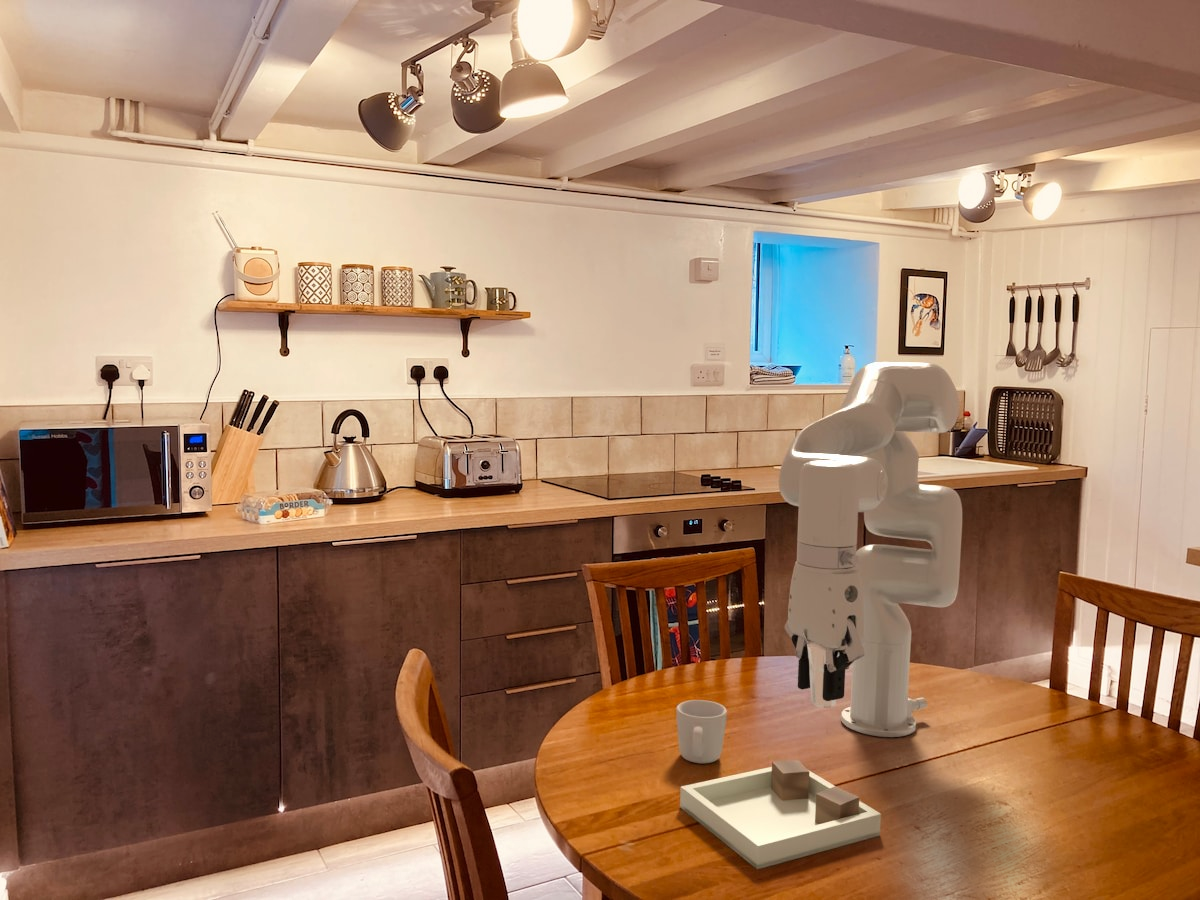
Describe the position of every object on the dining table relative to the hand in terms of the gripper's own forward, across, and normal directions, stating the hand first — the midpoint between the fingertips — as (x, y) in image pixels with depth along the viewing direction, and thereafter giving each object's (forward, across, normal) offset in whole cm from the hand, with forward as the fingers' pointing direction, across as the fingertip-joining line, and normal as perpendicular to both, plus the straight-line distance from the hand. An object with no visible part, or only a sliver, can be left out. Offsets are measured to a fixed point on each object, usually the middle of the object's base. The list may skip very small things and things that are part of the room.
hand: (820, 691), depth 124 cm
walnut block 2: (+19, 0, -3) cm, 19 cm away
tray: (+19, +5, +2) cm, 20 cm away
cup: (+19, +26, +1) cm, 32 cm away
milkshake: (+2, 0, 0) cm, 2 cm away
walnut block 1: (+19, +10, -4) cm, 21 cm away
